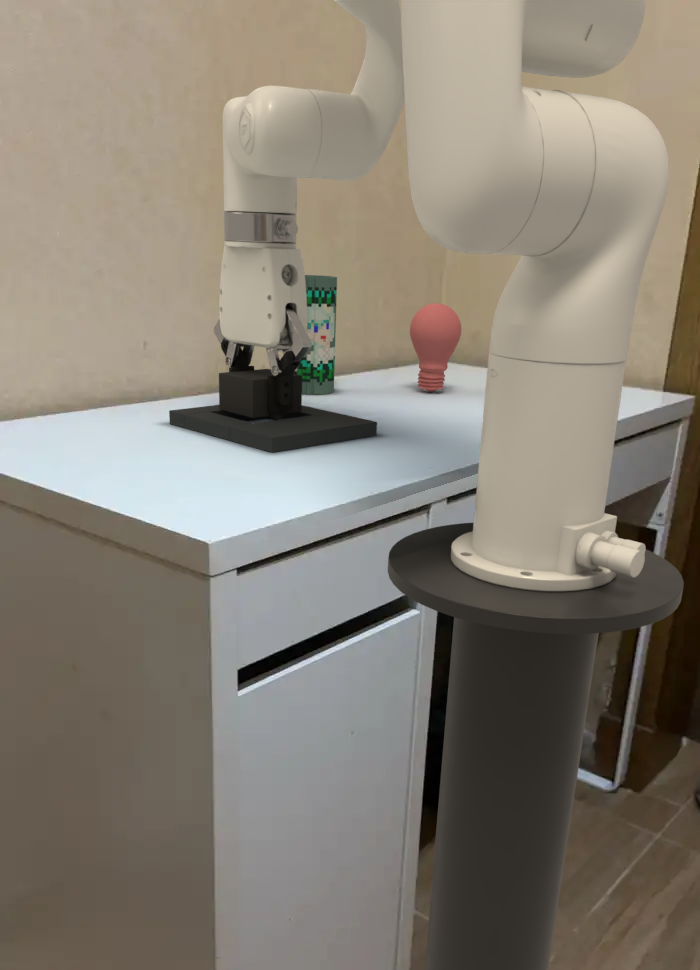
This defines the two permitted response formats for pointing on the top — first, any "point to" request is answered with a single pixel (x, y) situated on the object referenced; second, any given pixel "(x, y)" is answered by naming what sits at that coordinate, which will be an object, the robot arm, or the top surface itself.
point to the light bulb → (434, 342)
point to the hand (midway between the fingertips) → (260, 405)
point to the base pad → (275, 427)
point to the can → (320, 335)
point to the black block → (252, 393)
